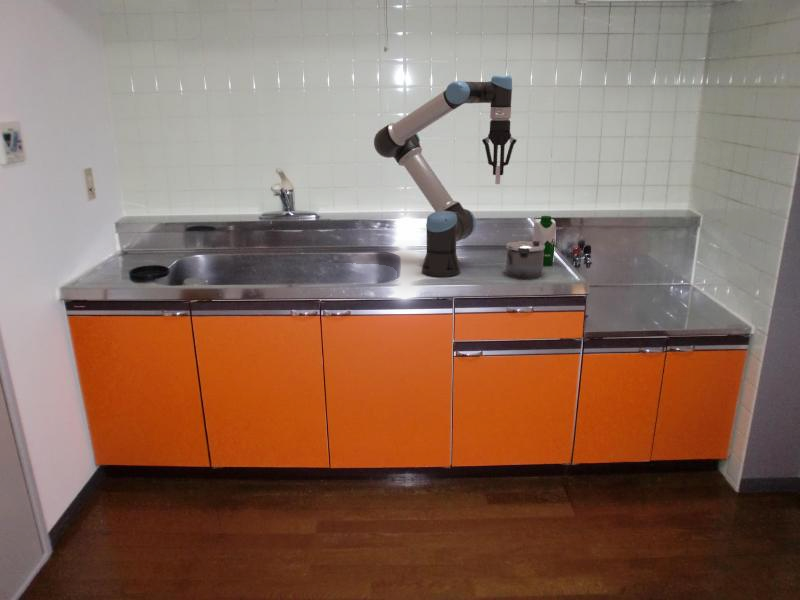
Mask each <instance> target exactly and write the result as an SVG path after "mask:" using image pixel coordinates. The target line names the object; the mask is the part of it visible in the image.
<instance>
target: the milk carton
mask: <svg viewBox="0 0 800 600" xmlns="http://www.w3.org/2000/svg"><path fill="white" fill-rule="evenodd" d="M556 227H557V223H556V221H555V219H553V218H552V216H550V215H541V217H540V218H535V219H534V223H533V229H532V230H533V232H532V233H533V234H532V242H533V241H539V243H542V244H544V245H545V249H544V256H543V266H553V261H554V256H555V248H556V247H555V244H556V229H557V228H556Z"/></svg>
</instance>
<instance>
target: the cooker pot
mask: <svg viewBox="0 0 800 600" xmlns="http://www.w3.org/2000/svg"><path fill="white" fill-rule="evenodd" d="M543 256H544V250H541V251H529V252H518V251H516V250H511V249H508V248H506V257H505V258H506V263H505V275H506V276H507V277H509V278H514V279H519V280H535V279H539V278H542V277H543V269H544V268H543V267H544V265H543Z"/></svg>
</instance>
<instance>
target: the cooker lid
mask: <svg viewBox="0 0 800 600" xmlns="http://www.w3.org/2000/svg"><path fill="white" fill-rule="evenodd" d="M505 247H506V249H507V248H508V249H511V250H516V251H518V252H529V251H541V250H544V249H545V245H544V244H542V243H539V241H533V240H532V241H529V240H528V241H527V240H517V241H515V240H514V241H509V242H507V243H506V246H505Z"/></svg>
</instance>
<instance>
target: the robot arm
mask: <svg viewBox="0 0 800 600" xmlns="http://www.w3.org/2000/svg"><path fill="white" fill-rule="evenodd" d="M512 92H513V78H512V76H511V75H493V76H491V80H490V81H463V80H455V81H452V82H450V83H448V85H447V87H446V89H445V90H443V91H442V92H440V93H439V94H438V95H436V96H434V97H433V98H431V99H430V100H428V101H427V102H425V103H424V104H421V106H419V107H418V108H416V109H415V110H414V111H412V112H410V113H409V114H407V115H405V116H404V117H402V118H401V119H399V120H398V121H397V122H390V123H389V124H387V125H386V126H384V127H382V128H381V129H379V130H378V131H377V132H376V134H375V135H374V137H373V147H374V149H375V151H376V152H377V154H378V155H380V156H381V157H384V158H388V159H389V158H393V159H394V160H395V161H396V163H397V165H398V166H402V167H404V169H406V171H407V173H408V174H409V175H410V176H411V178H412V179H413V181H414V182H415V184H416V186H417V187H418V189H419V190H420V191H421V193H422V194H423V196H424V197H425V198H426V200H427V202H428V203H429V204H430V206H431V208H433V210H434V212H432V213H430V214H429V215H428V216H427V217H426V223H425V224H426V226H425V227H426V254H425V257H424V260H423V262H422V266H421V267H422V268H421V273H422V274H423V275H425V276H429V277H435V278H449V277H450V278H451V277H455V276H457V275H459V274H461V265H460V262H459V259H458V255H457V242H459V241H461V240H462V241H463V240H465V239H467V238H468V237H470V236H472V234H473V233H474V231H475V229H476V225H477V222H476V217H475V215H474V214H473V212H471V211H470V210H469V209H467V208H466V209H465V208H464V207H463V205H462V204H461V203H460V202H459V201H456V200H454V199H453V198H452V196H451V194H450V193H449V192H448V191H447V188H445V186H444V185H443V184H442V182H441V180H440V179H439V178H438V176H437V175H436V173H435V172H434V170H433V169H432V167H431V166H430V164H429V163H428V161H427V160H426V159H425V157H424V156H423V155H422V154H423V153H422V152H423V151H422V150H423V147H421V145H420V144H421V143H420V136H419V135H418V133H419V132H421V131H423V130H424V129H426V128H428V127H430V125H432V124H433V123H435V122H436V121H439V120H440V119H442V118H443V117H445V116H446V115H448V114H449V113H451V112H452V111H454V110H456V109H457V108H459V107H461V106H462V105H464V104H490V113H489V114H490V115H489V117H490V118H489V119H490V121H489V133H488V134H487V137H484V138H483V139H482V140H481V141H482V144H484V148H485V153H486V158H487V162H488V163H487V164H488V165H490V166H492V175H493V176H495V183H494V184H495V185H500V184H501V176H503V175H504V167H505V166H508V165H509V162H510V159H511V157H512V153H513V149H514V145H515V144H516V143H517V140H518V139H517V138H514V137H513V136H512V134H511V121H510V119H511V118H512V115H511V114H512V97H513V95H512V94H513V93H512ZM490 142H491V144H492V145H493V158H492V154H491V153H492V152H491V149H490V144H489V143H490ZM508 142H509V143H510V144H509V148H508V150H507V153H506V158H505V150H506V149H505V147H506V144H507V143H508ZM499 147H500V150H499ZM498 150H499V151H500V155H499V165H498ZM492 159H493V160H492Z"/></svg>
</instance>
